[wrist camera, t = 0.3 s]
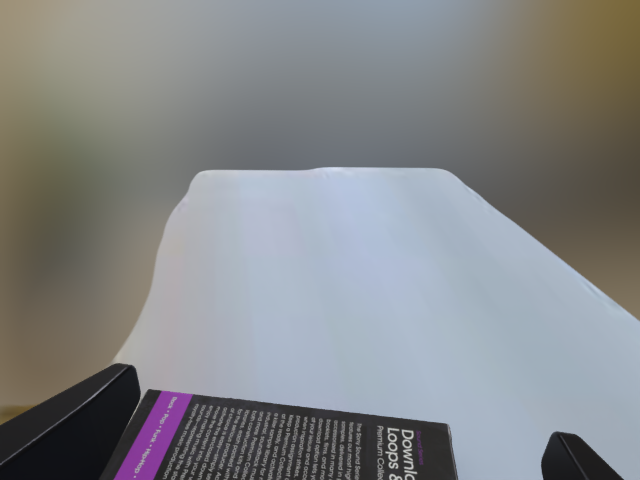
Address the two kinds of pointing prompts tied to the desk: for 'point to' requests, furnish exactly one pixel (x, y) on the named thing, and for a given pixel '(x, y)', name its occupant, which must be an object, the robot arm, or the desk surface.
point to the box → (274, 443)
